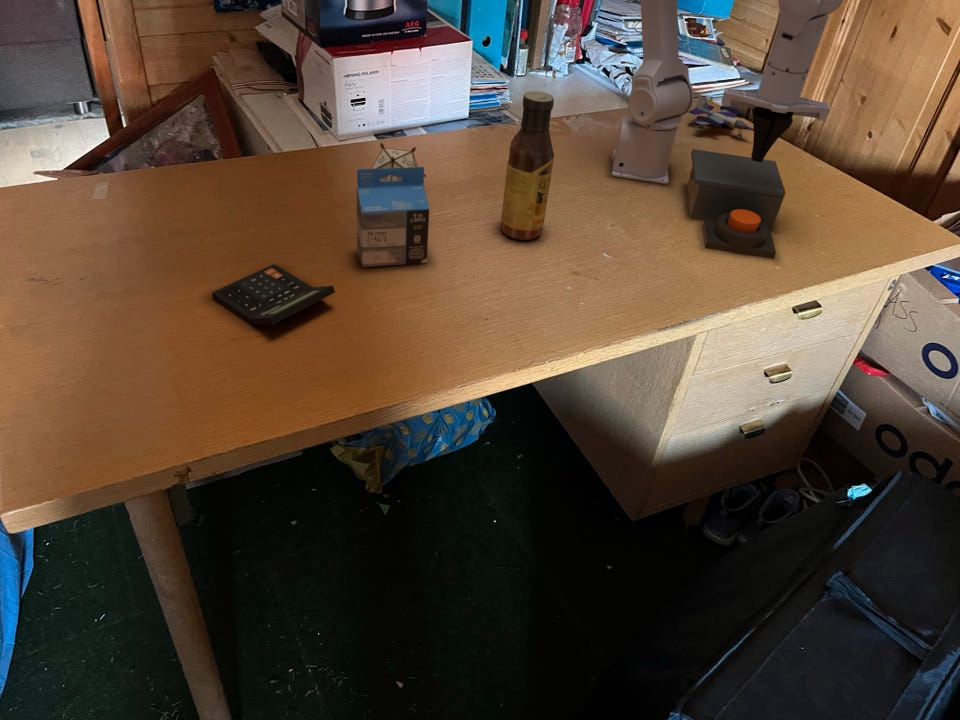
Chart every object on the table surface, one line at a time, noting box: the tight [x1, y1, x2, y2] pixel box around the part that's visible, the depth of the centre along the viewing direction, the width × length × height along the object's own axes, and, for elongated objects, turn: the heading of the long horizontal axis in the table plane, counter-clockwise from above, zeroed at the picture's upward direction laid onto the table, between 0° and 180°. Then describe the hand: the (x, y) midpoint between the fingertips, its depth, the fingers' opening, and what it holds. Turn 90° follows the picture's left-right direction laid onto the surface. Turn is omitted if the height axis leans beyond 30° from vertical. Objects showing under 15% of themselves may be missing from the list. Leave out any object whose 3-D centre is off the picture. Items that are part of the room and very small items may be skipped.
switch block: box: [701, 213, 777, 260], centre depth 112 cm, size 10×7×3 cm
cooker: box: [686, 165, 785, 232], centre depth 120 cm, size 13×12×6 cm
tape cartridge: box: [356, 166, 430, 268], centre depth 98 cm, size 9×4×12 cm, turn 105°
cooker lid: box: [690, 148, 787, 198], centre depth 118 cm, size 13×12×1 cm
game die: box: [370, 142, 427, 181], centre depth 113 cm, size 9×8×10 cm
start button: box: [727, 209, 761, 234], centre depth 111 cm, size 4×4×2 cm
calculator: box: [211, 263, 336, 326], centre depth 91 cm, size 9×12×3 cm
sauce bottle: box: [500, 90, 555, 241], centre depth 104 cm, size 6×6×20 cm
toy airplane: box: [688, 95, 754, 140], centre depth 146 cm, size 13×14×4 cm
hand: (756, 158), depth 112 cm, fingers closed
